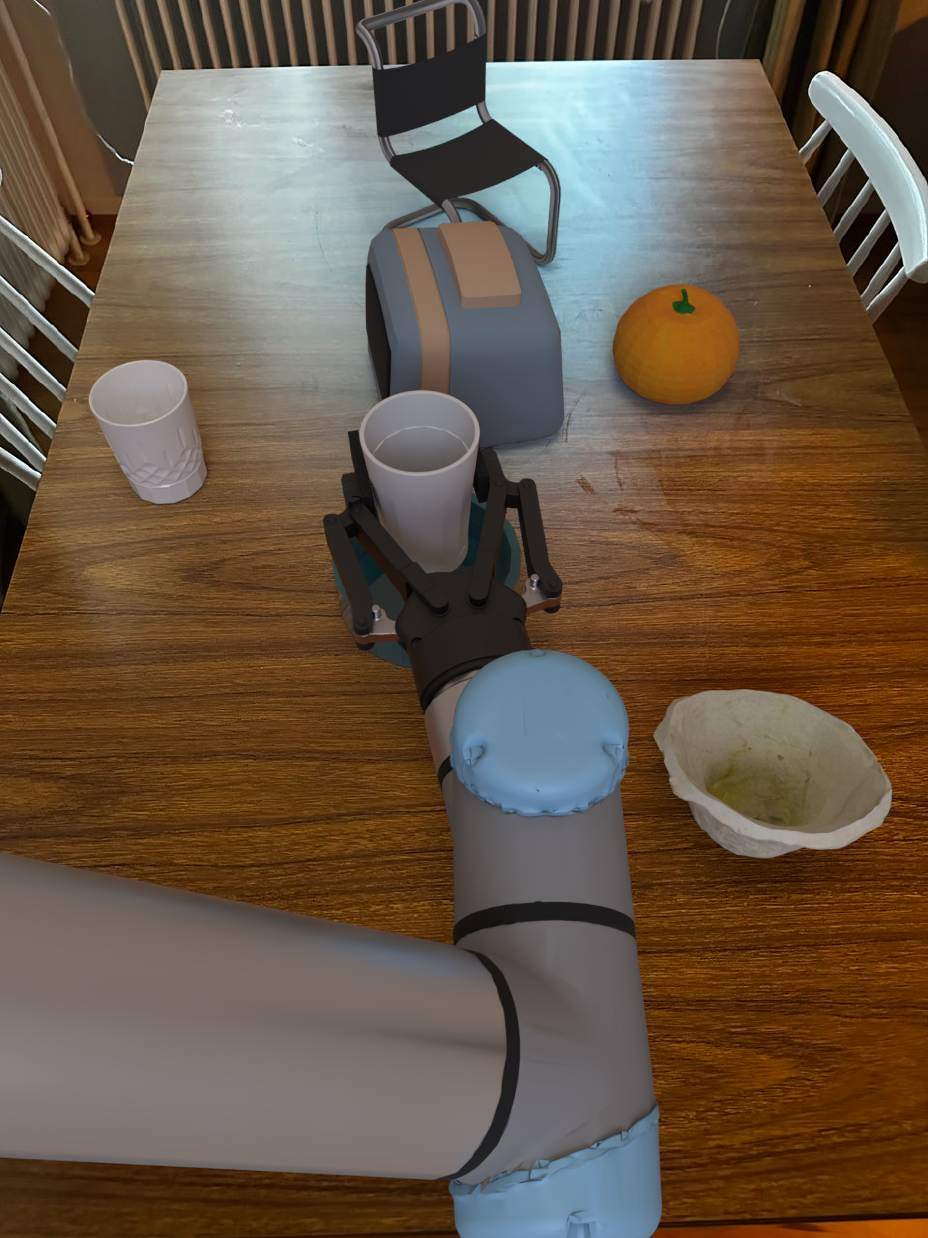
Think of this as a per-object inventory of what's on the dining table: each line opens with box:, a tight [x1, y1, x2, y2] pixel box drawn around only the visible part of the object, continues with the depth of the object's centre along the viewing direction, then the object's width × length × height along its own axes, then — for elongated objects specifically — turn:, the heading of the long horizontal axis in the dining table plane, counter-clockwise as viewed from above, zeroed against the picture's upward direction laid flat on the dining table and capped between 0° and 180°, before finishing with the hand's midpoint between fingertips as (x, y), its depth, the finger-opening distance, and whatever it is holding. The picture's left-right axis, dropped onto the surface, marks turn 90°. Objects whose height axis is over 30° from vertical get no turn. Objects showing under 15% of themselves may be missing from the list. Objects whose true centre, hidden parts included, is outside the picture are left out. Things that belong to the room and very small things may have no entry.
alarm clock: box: [364, 220, 565, 448], centre depth 85 cm, size 16×16×16 cm
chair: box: [355, 0, 562, 266], centre depth 95 cm, size 13×17×22 cm
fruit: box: [611, 283, 741, 406], centre depth 88 cm, size 12×12×10 cm
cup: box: [358, 390, 480, 574], centre depth 68 cm, size 8×8×12 cm
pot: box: [331, 493, 522, 669], centre depth 76 cm, size 15×15×5 cm
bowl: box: [653, 688, 893, 859], centre depth 63 cm, size 15×14×10 cm
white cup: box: [88, 359, 208, 505], centre depth 81 cm, size 8×8×10 cm
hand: (409, 435), depth 70 cm, fingers closed on cup, 7 cm apart
